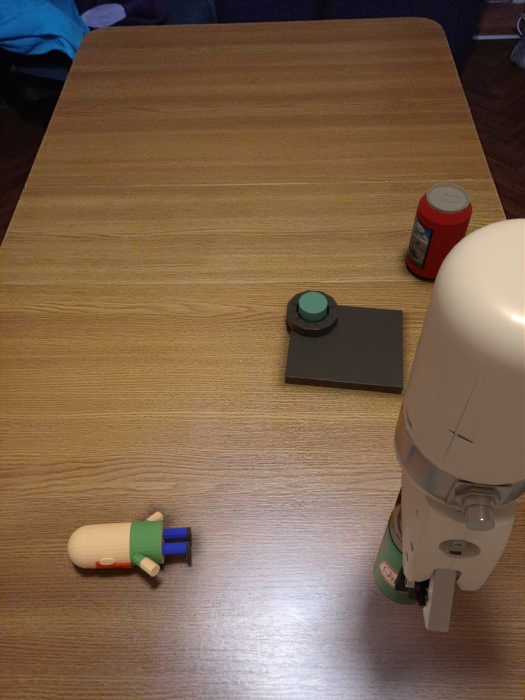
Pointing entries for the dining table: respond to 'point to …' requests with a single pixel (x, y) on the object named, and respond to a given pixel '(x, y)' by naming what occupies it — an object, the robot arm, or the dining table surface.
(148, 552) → the toy figurine
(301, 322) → the scale
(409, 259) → the beverage can
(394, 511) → the soda can
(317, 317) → the button
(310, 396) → the dining table surface
